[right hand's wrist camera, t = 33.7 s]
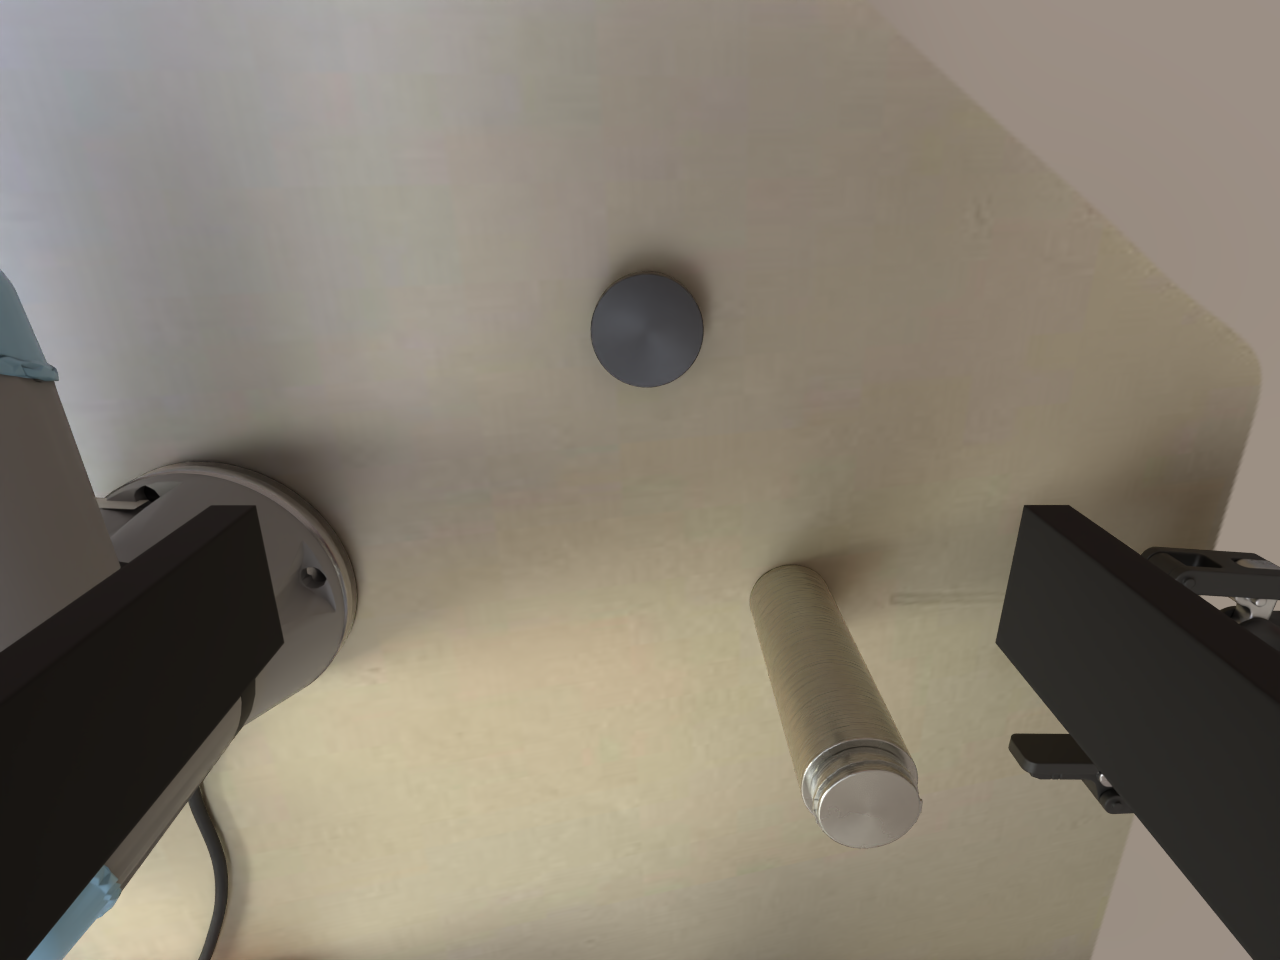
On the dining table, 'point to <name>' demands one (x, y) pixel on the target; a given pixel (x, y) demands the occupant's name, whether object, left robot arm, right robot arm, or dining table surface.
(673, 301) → the lid
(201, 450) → the dining table surface
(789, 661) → the jar
